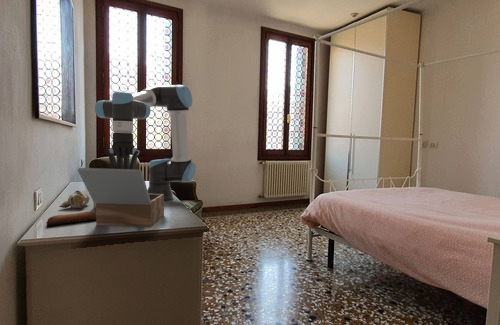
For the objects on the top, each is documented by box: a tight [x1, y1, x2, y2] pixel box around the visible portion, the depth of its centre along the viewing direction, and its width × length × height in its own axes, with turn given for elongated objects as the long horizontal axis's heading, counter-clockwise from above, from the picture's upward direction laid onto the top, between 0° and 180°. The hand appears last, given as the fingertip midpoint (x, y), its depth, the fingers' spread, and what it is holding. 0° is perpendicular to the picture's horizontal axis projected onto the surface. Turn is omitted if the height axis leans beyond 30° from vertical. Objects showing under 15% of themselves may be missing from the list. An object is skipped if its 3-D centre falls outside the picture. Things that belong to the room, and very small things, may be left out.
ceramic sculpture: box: [59, 190, 90, 209], centre depth 150 cm, size 11×9×15 cm
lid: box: [77, 167, 151, 205], centre depth 113 cm, size 18×22×1 cm
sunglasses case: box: [46, 211, 96, 228], centre depth 125 cm, size 18×7×7 cm
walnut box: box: [95, 194, 165, 228], centre depth 129 cm, size 18×22×10 cm
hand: (123, 191), depth 120 cm, fingers closed
